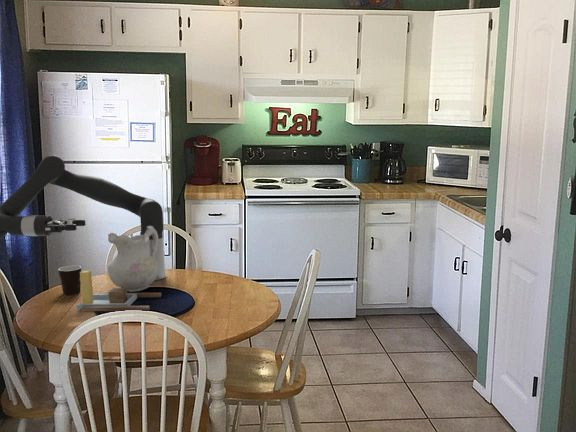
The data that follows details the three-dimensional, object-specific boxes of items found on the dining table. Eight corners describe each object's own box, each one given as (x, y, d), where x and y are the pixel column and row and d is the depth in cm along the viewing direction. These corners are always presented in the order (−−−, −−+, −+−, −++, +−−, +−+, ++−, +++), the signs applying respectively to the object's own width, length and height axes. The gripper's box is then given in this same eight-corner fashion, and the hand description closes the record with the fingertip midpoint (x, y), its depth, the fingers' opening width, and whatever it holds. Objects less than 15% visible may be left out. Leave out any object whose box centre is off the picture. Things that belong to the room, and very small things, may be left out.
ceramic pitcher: (139, 283, 279) (131, 224, 276) (175, 284, 269) (167, 223, 266) (101, 297, 261) (91, 234, 257) (138, 299, 251) (129, 234, 247)
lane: (99, 299, 254) (99, 292, 254) (161, 298, 252) (161, 292, 252) (81, 314, 237) (81, 307, 236) (148, 313, 235) (148, 307, 234)
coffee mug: (76, 296, 259) (74, 271, 257) (56, 295, 260) (53, 270, 259) (91, 288, 270) (89, 263, 268) (71, 287, 272) (69, 263, 270)
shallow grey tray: (90, 301, 252) (87, 267, 250) (137, 300, 251) (135, 266, 248) (77, 312, 239) (74, 276, 237) (126, 311, 238) (124, 275, 236)
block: (114, 301, 247) (113, 287, 246) (127, 300, 247) (126, 287, 246) (109, 305, 242) (108, 291, 241) (123, 305, 242) (122, 291, 241)
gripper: (27, 219, 236) (72, 218, 235) (44, 212, 250) (87, 211, 249) (29, 239, 237) (74, 239, 236) (46, 231, 251) (88, 231, 250)
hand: (80, 225), depth 242 cm, fingers open, 8 cm apart
